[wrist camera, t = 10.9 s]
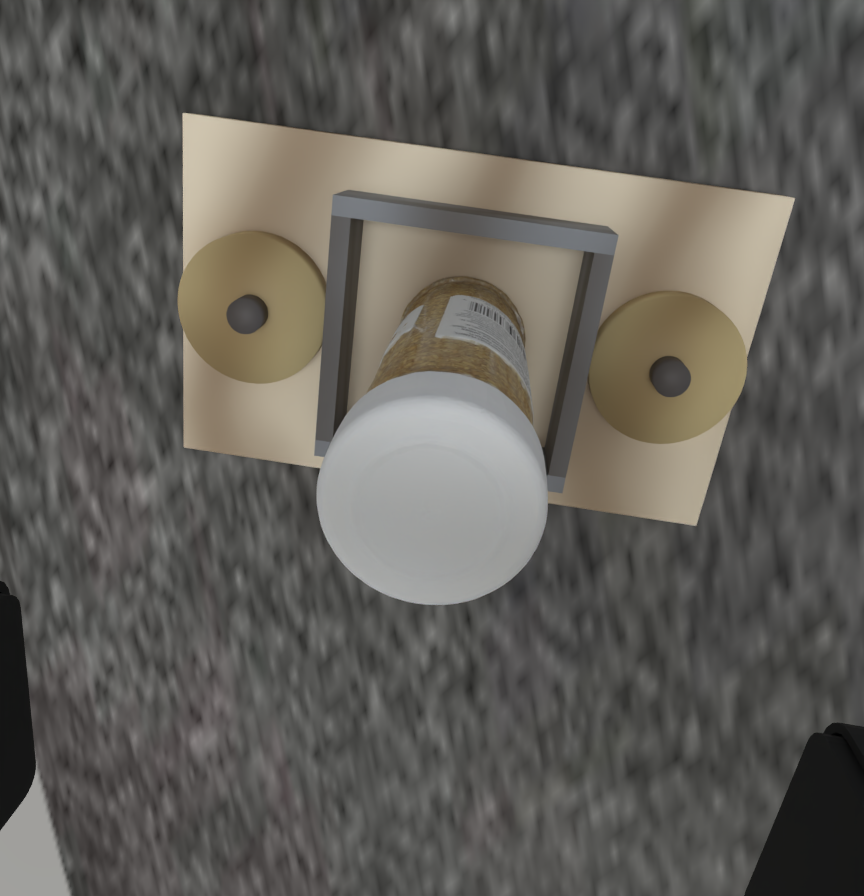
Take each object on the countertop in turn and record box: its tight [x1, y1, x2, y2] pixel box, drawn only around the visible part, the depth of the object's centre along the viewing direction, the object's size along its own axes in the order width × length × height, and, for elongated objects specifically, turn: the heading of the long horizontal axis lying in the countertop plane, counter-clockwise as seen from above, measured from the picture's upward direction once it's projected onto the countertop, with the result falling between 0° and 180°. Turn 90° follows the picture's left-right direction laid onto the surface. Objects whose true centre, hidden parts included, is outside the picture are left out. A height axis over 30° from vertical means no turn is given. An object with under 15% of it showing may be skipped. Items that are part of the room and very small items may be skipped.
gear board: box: [178, 113, 795, 526], centre depth 26 cm, size 20×12×4 cm, turn 83°
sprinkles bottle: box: [317, 276, 548, 605], centre depth 20 cm, size 5×5×13 cm
